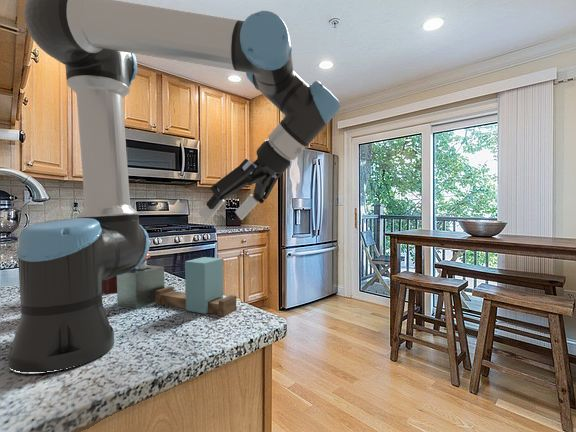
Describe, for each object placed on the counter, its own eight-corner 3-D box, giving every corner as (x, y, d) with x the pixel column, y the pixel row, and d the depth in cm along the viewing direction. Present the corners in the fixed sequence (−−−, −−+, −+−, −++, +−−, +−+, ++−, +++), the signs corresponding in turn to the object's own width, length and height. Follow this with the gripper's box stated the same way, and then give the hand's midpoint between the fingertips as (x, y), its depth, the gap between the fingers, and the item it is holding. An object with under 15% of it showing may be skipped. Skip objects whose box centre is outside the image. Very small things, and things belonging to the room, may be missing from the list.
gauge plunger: (143, 280, 81) (143, 255, 81) (127, 279, 82) (127, 255, 82) (154, 276, 86) (153, 252, 86) (139, 275, 87) (138, 252, 86)
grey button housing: (164, 299, 87) (163, 266, 86) (136, 309, 79) (135, 273, 78) (146, 296, 90) (145, 264, 89) (117, 305, 82) (116, 271, 81)
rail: (236, 309, 78) (236, 295, 78) (224, 316, 73) (223, 301, 73) (170, 298, 87) (169, 286, 87) (155, 304, 83) (155, 290, 83)
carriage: (223, 305, 81) (222, 258, 80) (205, 314, 75) (204, 263, 74) (204, 302, 83) (204, 257, 83) (185, 310, 77) (184, 261, 77)
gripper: (261, 152, 56) (194, 232, 63) (312, 168, 78) (258, 225, 85) (236, 124, 58) (174, 204, 65) (293, 147, 80) (242, 205, 87)
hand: (222, 216), depth 75 cm, fingers open, 13 cm apart
